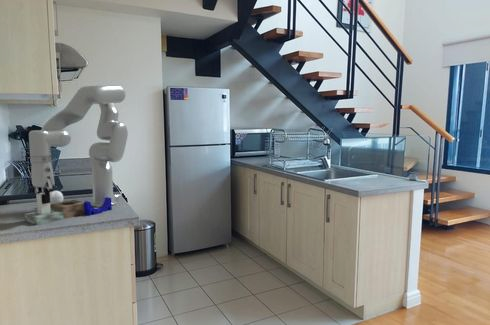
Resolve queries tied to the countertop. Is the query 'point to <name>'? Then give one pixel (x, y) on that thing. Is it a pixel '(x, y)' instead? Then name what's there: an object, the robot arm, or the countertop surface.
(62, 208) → the socket block
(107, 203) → the blue curved block
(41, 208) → the peg
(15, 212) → the countertop surface
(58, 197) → the white round lump
